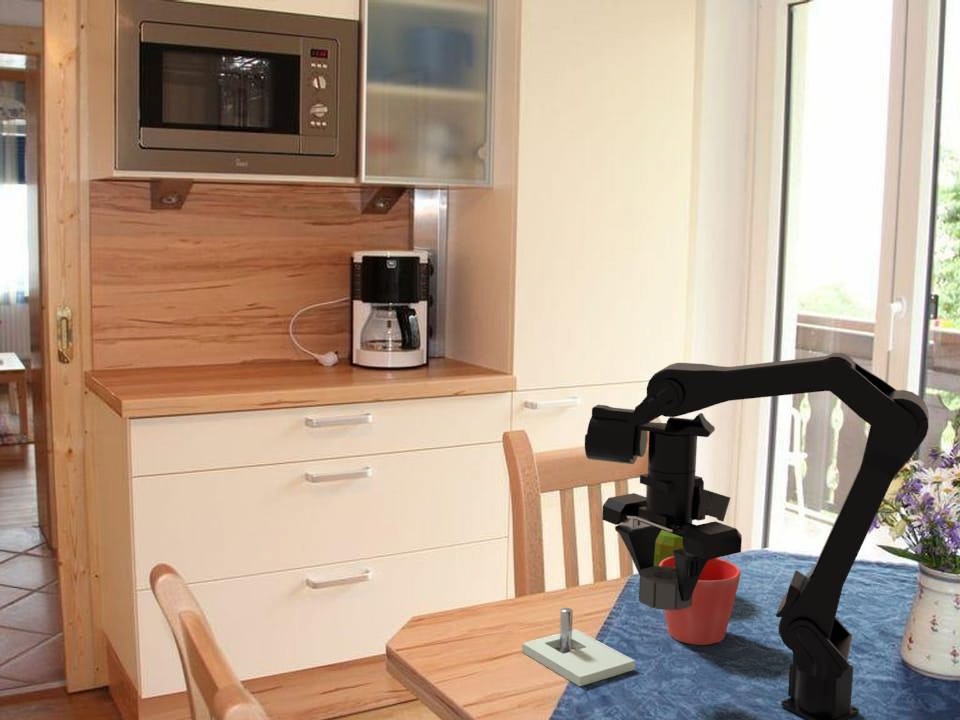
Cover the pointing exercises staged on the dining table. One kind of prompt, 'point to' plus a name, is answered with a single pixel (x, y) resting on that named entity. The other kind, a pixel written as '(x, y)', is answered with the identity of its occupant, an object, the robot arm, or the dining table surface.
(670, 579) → the grey octagonal ring
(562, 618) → the grey metallic cylinder
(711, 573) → the flower pot
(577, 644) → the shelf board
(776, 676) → the dining table surface
